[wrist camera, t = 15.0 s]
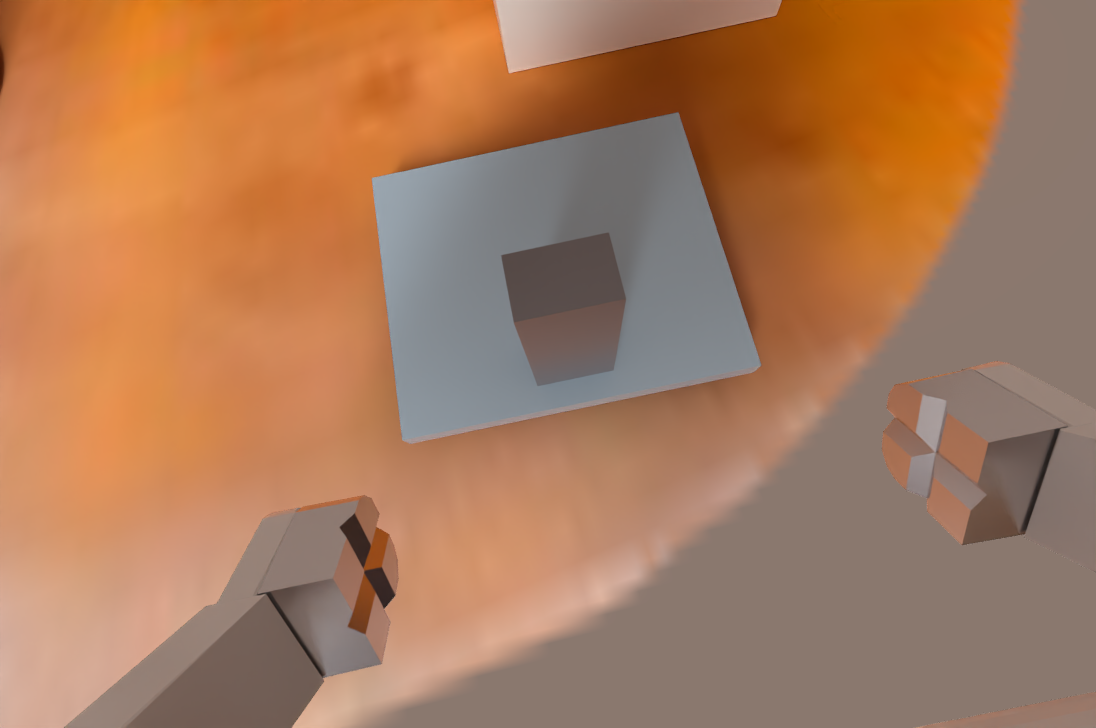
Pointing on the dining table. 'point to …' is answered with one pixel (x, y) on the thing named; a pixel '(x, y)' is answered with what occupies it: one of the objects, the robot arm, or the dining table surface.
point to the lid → (555, 279)
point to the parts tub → (609, 25)
